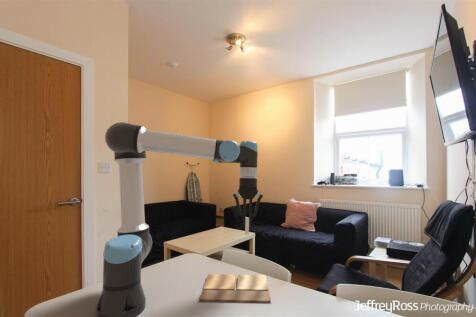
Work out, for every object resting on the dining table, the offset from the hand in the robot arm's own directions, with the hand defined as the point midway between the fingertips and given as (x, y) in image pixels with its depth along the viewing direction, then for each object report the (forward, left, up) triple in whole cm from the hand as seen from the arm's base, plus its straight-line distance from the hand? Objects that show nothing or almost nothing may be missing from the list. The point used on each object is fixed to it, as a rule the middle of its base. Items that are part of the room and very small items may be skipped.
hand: (247, 233), depth 103 cm
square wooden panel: (+2, -2, -20) cm, 20 cm away
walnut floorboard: (-4, -13, -20) cm, 25 cm away
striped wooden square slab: (-11, -2, -20) cm, 23 cm away
